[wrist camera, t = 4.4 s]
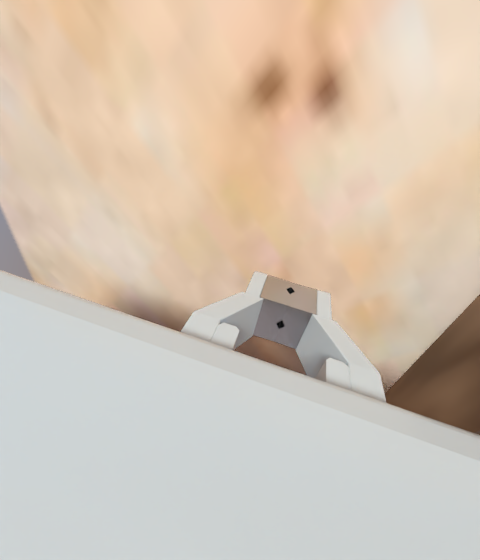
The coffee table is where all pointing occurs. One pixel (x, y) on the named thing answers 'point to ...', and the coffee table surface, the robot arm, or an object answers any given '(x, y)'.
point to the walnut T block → (446, 376)
